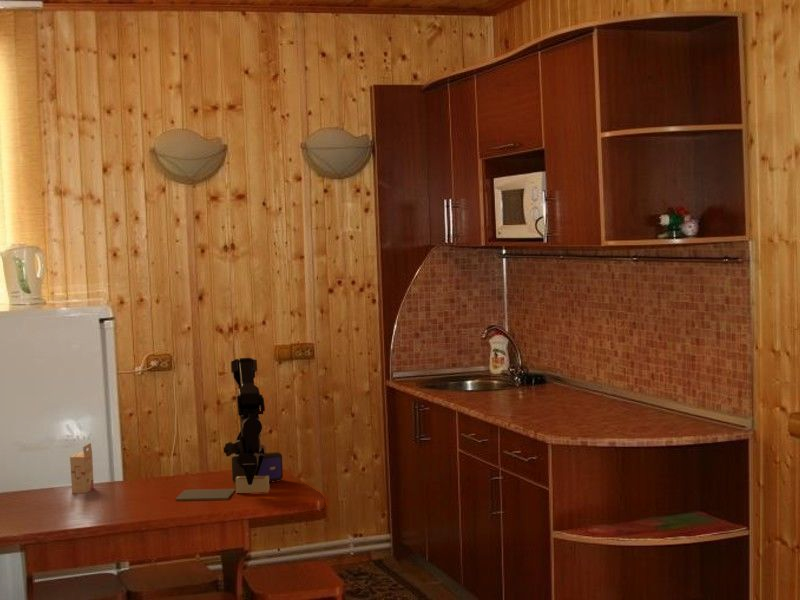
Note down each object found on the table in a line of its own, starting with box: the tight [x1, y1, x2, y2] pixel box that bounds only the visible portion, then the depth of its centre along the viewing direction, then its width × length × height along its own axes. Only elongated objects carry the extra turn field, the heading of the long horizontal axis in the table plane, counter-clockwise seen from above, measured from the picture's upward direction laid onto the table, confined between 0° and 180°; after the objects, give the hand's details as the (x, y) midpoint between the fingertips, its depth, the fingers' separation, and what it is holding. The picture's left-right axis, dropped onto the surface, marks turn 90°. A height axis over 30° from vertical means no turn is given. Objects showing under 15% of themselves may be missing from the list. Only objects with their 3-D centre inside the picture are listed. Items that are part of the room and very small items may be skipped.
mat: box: [175, 488, 236, 502], centre depth 366 cm, size 13×16×1 cm
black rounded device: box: [231, 451, 284, 484], centre depth 383 cm, size 16×5×9 cm, turn 98°
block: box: [235, 476, 270, 494], centre depth 368 cm, size 3×10×5 cm, turn 88°
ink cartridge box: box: [69, 442, 95, 494], centre depth 378 cm, size 9×5×15 cm, turn 179°
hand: (252, 481), depth 368 cm, fingers open, 9 cm apart
